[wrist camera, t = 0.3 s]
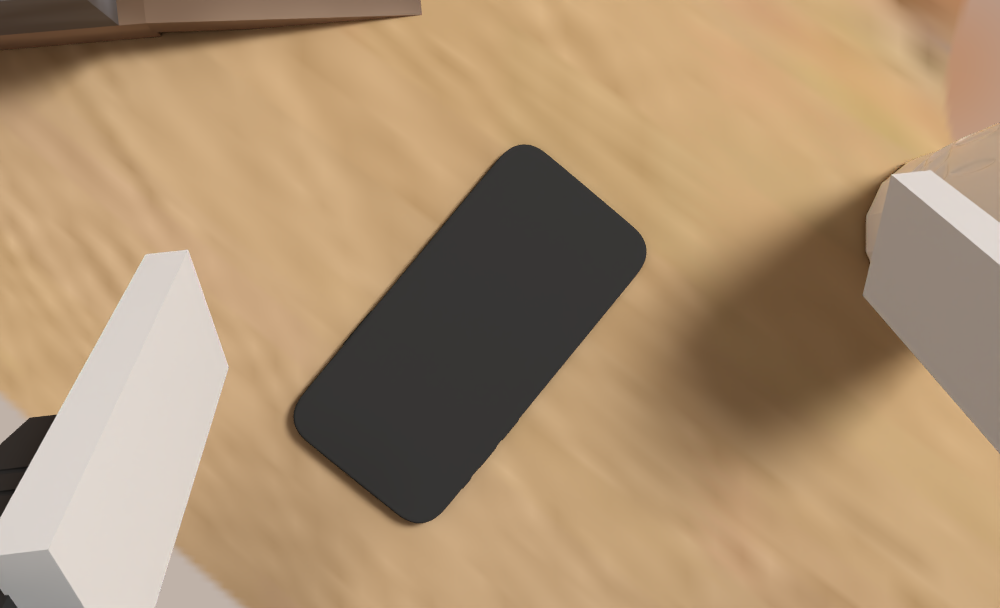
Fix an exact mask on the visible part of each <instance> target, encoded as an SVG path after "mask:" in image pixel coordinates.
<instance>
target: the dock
mask: <svg viewBox="0 0 1000 608" xmlns="http://www.w3.org/2000/svg"><path fill="white" fill-rule="evenodd" d="M413 15H422V11H421V1H420V0H0V50H7V49H19V48H31V47H43V46H54V45H66V44H78V43H90V42H101V41H113V40H125V39H137V38H148V37H160V36H161V32H179V31H209V30H240V29H260V28H271V27H283V26H295V25H307V24H318V23H330V22H342V21H354V20H366V19H377V18H389V17H401V16H413Z"/></svg>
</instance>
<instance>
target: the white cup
mask: <svg viewBox="0 0 1000 608" xmlns="http://www.w3.org/2000/svg"><path fill="white" fill-rule="evenodd" d="M928 170H931V171H932V172H934V173H935V174H936V175H938V176H939V177H940V178H942V179H943V180H944V181H946V182H947V183H948V184H949V185H951V186H952V187H953V188H955V189H956V190H957V191H959V192H960V193H961V194H963V195H964V196H965V197H967V198H968V199H969V200H971V201H972V202H973V203H974V204H976V205H977V206H978V207H980V208H981V209H982V210H984V211H985V212H986V213H988V214H989V215H990V216H992V217H993V218H994V219H995V220H997V221H998V222H999V223H1000V122H999V123H997V124H995V125H992V126H990V127H987V128H985V129H983V130H981V131H979V132H976V133H973V134H971V135H968V136H966V137H964V138H961V139H959V140H957V141H955V142H953V143H951V144H949V145H947V146H945V147H943V148H942V149H940V150H937V151H934V152H932V153H929V154H926V155H923V156H921V157H918V158H915V159H912V160H910V161H908V162H907V163H906V164H905V165H904V166H902V167H901V168H900V169H899V170H897V171H896V172H895V173H894V174H900V173H909V172H919V171H928ZM890 177H891V176H890ZM890 177H889V178H888V179H886V180H885V181H884V182H883V183H882V184H881V185H880V188H879V190H878V192H877V194H876V196H875V198H874V200H873V202H872V205H871V207H870V209H869V211H868V213H867V215H866V253H867V256H868V258H869V260H870V262H871V258H872V253H873V249H874V245H875V241H876V237H877V232H878V228H879V224H880V220H881V215H882V211H883V207H884V203H885V198H886V194H887V190H888V186H889V182H890Z"/></svg>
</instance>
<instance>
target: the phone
mask: <svg viewBox="0 0 1000 608" xmlns="http://www.w3.org/2000/svg"><path fill="white" fill-rule="evenodd" d="M645 258H646V245H645V242H644V240H643V238H642V236H641V235H640V233H639V232H638V231H637V230H636V229H635V228H634V227H633V226H631V225H630V224H629V223H628V222H627V221H626V220H625V219H623V218H622V217H621V216H620V215H619V214H617V213H616V212H615V211H614V210H613V209H612V208H610V207H609V206H608V205H607V204H606V203H604V202H603V201H602V200H601V199H600V198H599V197H597V196H596V195H595V194H594V193H593V192H591V191H590V190H589V189H588V188H587V187H586V186H584V185H583V184H582V183H581V182H580V181H578V180H577V179H576V178H575V177H574V176H572V175H571V174H570V173H569V172H568V171H566V170H565V169H564V168H563V167H562V166H561V165H559V164H558V163H557V162H556V161H555V160H553V159H552V158H551V157H550V156H548V155H547V154H546V153H545V152H543V151H542V150H540V149H539V148H537V147H534V146H531V145H518V146H515V147H512V148H511V149H509V150H508V151H506V152H505V153H504V154H503V155H502V156H501V157H500V158H499V159H498V161H497V162H496V163H495V164H494V165H493V166H492V168H491V169H490V170H489V171H488V172H487V174H486V175H485V176H484V177H483V178H482V180H481V181H480V182H479V183H478V184H477V186H476V187H475V188H474V189H473V190H472V192H471V193H470V194H469V195H468V196H467V198H466V199H465V200H464V201H463V202H462V204H461V205H460V206H459V207H458V208H457V210H456V211H455V212H454V213H453V214H452V216H451V217H450V218H449V219H448V220H447V222H446V223H445V224H444V225H443V226H442V228H441V229H440V230H439V231H438V232H437V234H436V235H435V236H434V237H433V238H432V240H431V241H430V242H429V243H428V245H427V246H426V247H425V248H424V249H423V251H422V252H421V253H420V254H419V255H418V257H417V258H416V259H415V260H414V261H413V263H412V264H411V265H410V266H409V267H408V269H407V270H406V271H405V272H404V273H403V275H402V276H401V277H400V278H399V279H398V281H397V282H396V283H395V284H394V285H393V287H392V288H391V289H390V290H389V291H388V293H387V294H386V295H385V296H384V297H383V299H382V300H381V301H380V302H379V303H378V305H377V306H376V307H375V308H374V309H373V311H371V312H370V313H369V314H368V315H367V316H366V318H365V319H364V320H363V321H362V322H361V324H360V325H359V326H358V327H357V328H356V330H355V331H354V332H353V333H352V334H351V336H350V337H349V338H348V339H347V340H346V342H345V343H344V344H343V347H342V348H341V349H340V350H339V351H338V353H337V354H336V355H335V356H334V357H333V359H332V360H331V361H330V362H329V363H328V365H327V366H326V367H325V368H324V369H323V371H322V372H321V373H320V374H319V376H318V377H317V378H316V379H315V380H314V382H313V383H312V384H311V385H310V386H309V388H308V389H307V390H306V391H305V392H304V394H303V395H302V396H301V398H300V399H299V401H298V403H297V405H296V407H295V410H294V424H295V427H296V429H297V431H298V432H299V434H300V435H301V436H302V437H303V438H304V439H305V440H306V441H307V442H308V443H309V444H310V445H312V446H313V447H314V448H315V449H317V450H318V451H319V452H320V453H321V454H323V455H324V456H325V457H326V458H328V459H329V460H330V461H331V462H333V463H334V464H335V465H336V466H338V467H339V468H340V469H341V470H343V471H344V472H345V473H346V474H348V475H349V476H350V477H351V478H352V479H354V480H355V481H356V482H357V483H359V484H360V485H361V486H362V487H364V488H365V489H366V490H367V491H369V492H370V493H371V494H372V495H374V496H375V497H376V498H377V499H379V500H380V501H381V502H382V503H384V504H385V505H386V506H388V507H389V508H390V509H391V510H393V511H394V512H395V513H396V514H398V515H399V516H400V517H402V518H404V519H405V520H408V521H410V522H414V523H425V522H428V521H431V520H433V519H434V518H436V517H437V516H438V515H440V514H441V513H442V512H443V511H444V509H445V508H446V507H447V506H448V505H449V504H450V502H451V501H452V500H453V499H454V498H455V496H456V495H457V494H458V493H459V491H460V490H461V489H463V488H464V487H465V485H466V484H467V483H468V482H469V481H470V479H471V477H472V476H473V474H474V473H475V472H476V471H477V469H478V468H480V467H481V466H482V465H483V463H484V462H485V461H486V460H487V458H488V457H489V456H490V455H491V454H492V452H493V451H494V450H495V449H496V447H497V445H498V444H499V442H500V441H501V440H503V439H504V438H505V436H506V435H507V434H508V433H509V431H510V430H511V429H512V428H513V427H514V425H515V424H516V423H517V422H518V420H519V418H520V417H521V416H522V414H523V413H524V412H525V411H526V409H527V408H528V407H529V406H530V405H531V403H532V402H533V401H534V400H535V398H536V397H537V396H538V395H539V394H540V392H541V391H542V390H543V389H544V387H545V386H546V385H547V384H548V383H549V381H550V380H551V379H552V378H553V376H554V375H555V374H556V373H557V372H558V370H559V369H560V368H561V367H562V365H563V364H564V363H565V362H566V361H567V359H568V358H569V357H570V356H571V354H572V353H573V352H574V351H575V350H576V348H577V347H578V346H579V345H580V343H581V342H582V341H583V340H584V339H585V337H586V336H587V335H588V334H589V332H590V331H591V330H592V329H593V327H594V326H595V325H596V324H597V323H598V321H599V320H600V319H601V318H602V316H603V315H604V314H605V313H606V312H607V310H608V309H609V308H610V307H611V305H612V304H613V303H614V302H615V301H616V299H617V298H618V297H619V296H620V294H621V293H622V292H623V291H624V290H625V288H626V287H627V286H628V285H629V283H630V282H631V281H632V280H633V278H634V277H635V276H636V275H637V273H638V272H639V271H640V269H641V268H642V266H643V264H644V261H645Z"/></svg>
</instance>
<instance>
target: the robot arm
mask: <svg viewBox="0 0 1000 608" xmlns="http://www.w3.org/2000/svg"><path fill="white" fill-rule="evenodd" d="M863 297H864V298H865V299H866V300H867V301H868V302H869V303H870V305H871V306H872V307H873V308H874V309H875V310H876V312H877V313H878V314H879V315H880V316H881V317H882V318H883V320H884V321H885V322H886V323H887V324H888V325H889V327H890V328H891V329H892V330H893V331H894V332H895V333H896V335H897V336H898V337H899V338H900V339H901V340H902V341H903V343H904V344H905V345H906V346H907V347H908V348H909V350H910V351H911V352H912V353H913V354H914V355H915V356H916V358H917V359H918V360H919V361H920V362H921V363H922V365H923V366H924V367H925V368H926V369H927V370H928V371H929V373H930V374H931V375H932V376H933V377H934V378H935V380H936V381H937V382H938V383H939V384H940V385H941V386H942V388H943V389H944V390H945V391H946V392H947V393H948V395H949V396H950V397H951V398H952V399H953V400H954V401H955V403H956V404H957V405H958V406H959V407H960V408H961V409H962V411H963V412H964V413H965V414H966V415H967V416H968V418H969V419H970V420H971V421H972V422H973V423H974V424H975V426H976V427H977V428H978V429H979V430H980V431H981V433H982V434H983V435H984V436H985V437H986V438H987V439H988V441H989V442H990V443H991V444H992V445H993V446H994V448H995V449H996V450H997V451H998V452H999V453H1000V223H999V222H998V221H997V220H995V219H994V218H993V217H992V216H990V215H989V214H988V213H986V212H985V211H984V210H982V209H981V208H980V207H978V206H977V205H976V204H974V203H973V202H972V201H971V200H969V199H968V198H967V197H965V196H964V195H963V194H961V193H960V192H959V191H957V190H956V189H955V188H953V187H952V186H951V185H949V184H948V183H947V182H946V181H944V180H943V179H942V178H940V177H939V176H938V175H936V174H935V173H934V172H932V171H931V170H928V171H919V172H909V173H900V174H891V177H890V182H889V186H888V190H887V194H886V198H885V203H884V207H883V211H882V215H881V220H880V224H879V228H878V232H877V237H876V241H875V245H874V249H873V253H872V258H871V262H870V266H869V270H868V275H867V279H866V283H865V287H864V292H863ZM228 368H229V367H228V364H227V361H226V358H225V355H224V352H223V349H222V346H221V343H220V341H219V338H218V335H217V332H216V329H215V326H214V323H213V320H212V317H211V314H210V312H209V309H208V306H207V303H206V300H205V297H204V294H203V291H202V288H201V285H200V283H199V280H198V277H197V274H196V271H195V268H194V265H193V262H192V259H191V257H190V254H189V251H188V250H181V251H172V252H163V253H153V254H145V256H144V258H143V260H142V262H141V264H140V265H139V267H138V269H137V271H136V273H135V274H134V276H133V278H132V280H131V282H130V283H129V285H128V287H127V289H126V291H125V293H124V294H123V296H122V298H121V300H120V302H119V303H118V305H117V307H116V309H115V311H114V312H113V314H112V316H111V318H110V320H109V322H108V323H107V325H106V327H105V329H104V331H103V332H102V334H101V336H100V338H99V340H98V341H97V343H96V345H95V347H94V349H93V351H92V352H91V354H90V356H89V358H88V360H87V361H86V363H85V365H84V367H83V369H82V370H81V372H80V374H79V376H78V378H77V380H76V381H75V383H74V385H73V387H72V389H71V390H70V392H69V394H68V396H67V398H66V399H65V401H64V403H63V405H62V407H61V409H60V410H59V412H58V414H57V415H50V416H41V417H33V418H29V419H28V420H27V421H26V422H25V423H24V424H22V425H21V426H20V427H19V428H18V429H17V430H16V431H15V432H14V433H12V434H11V435H10V436H9V437H8V438H7V439H6V440H5V441H3V442H2V443H1V445H0V608H155V606H156V602H157V599H158V596H159V593H160V590H161V586H162V583H163V580H164V577H165V573H166V570H167V567H168V564H169V560H170V557H171V554H172V551H173V547H174V544H175V541H176V538H177V534H178V531H179V528H180V525H181V521H182V518H183V515H184V512H185V508H186V505H187V502H188V499H189V495H190V492H191V489H192V485H193V482H194V479H195V476H196V472H197V469H198V466H199V463H200V459H201V456H202V453H203V450H204V446H205V443H206V440H207V437H208V433H209V430H210V427H211V423H212V420H213V417H214V414H215V410H216V407H217V404H218V401H219V397H220V394H221V391H222V388H223V384H224V381H225V378H226V375H227V371H228Z"/></svg>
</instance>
